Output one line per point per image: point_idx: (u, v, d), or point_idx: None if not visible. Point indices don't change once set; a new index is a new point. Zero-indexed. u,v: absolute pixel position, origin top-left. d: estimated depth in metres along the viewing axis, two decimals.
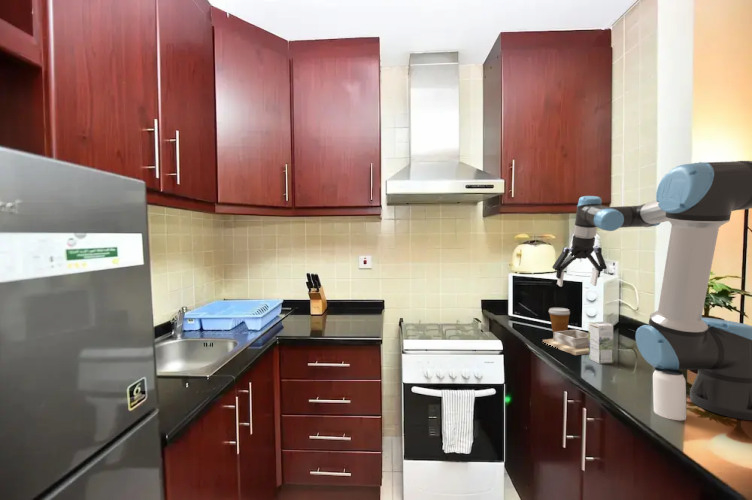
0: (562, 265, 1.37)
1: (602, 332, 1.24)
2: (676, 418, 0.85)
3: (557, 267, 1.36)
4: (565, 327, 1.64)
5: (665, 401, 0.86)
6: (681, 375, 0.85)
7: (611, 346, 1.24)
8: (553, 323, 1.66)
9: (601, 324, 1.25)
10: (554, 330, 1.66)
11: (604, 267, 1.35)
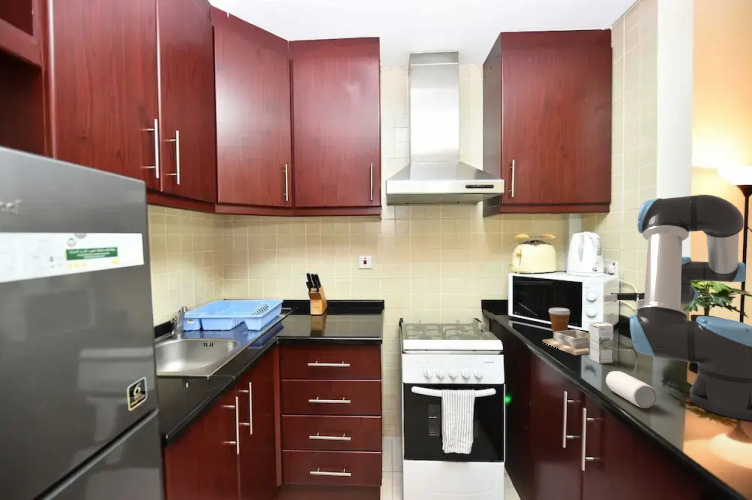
0: None
1: (602, 332, 1.24)
2: (631, 398, 0.92)
3: (614, 293, 1.40)
4: (565, 327, 1.64)
5: (625, 398, 0.96)
6: (607, 376, 1.02)
7: (611, 346, 1.24)
8: (553, 323, 1.66)
9: (601, 324, 1.25)
10: (554, 330, 1.66)
11: None
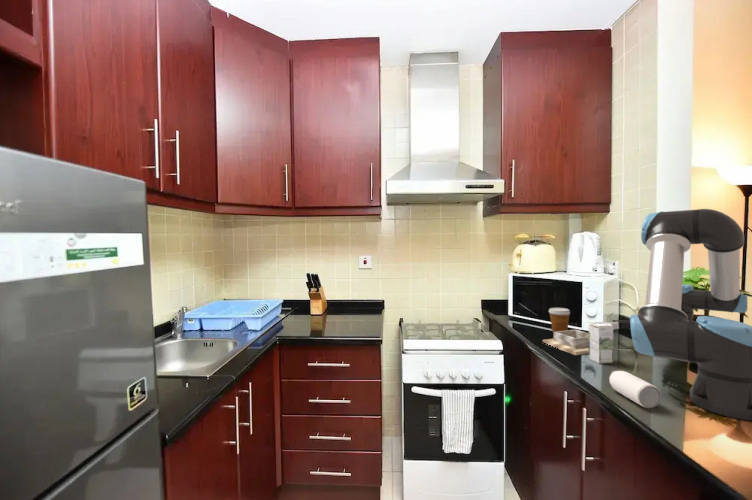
0: None
1: (602, 332, 1.24)
2: (635, 394, 0.92)
3: (616, 320, 1.41)
4: (565, 327, 1.64)
5: (626, 395, 0.96)
6: (612, 373, 1.02)
7: (611, 346, 1.24)
8: (553, 323, 1.66)
9: (601, 324, 1.25)
10: (554, 330, 1.66)
11: None
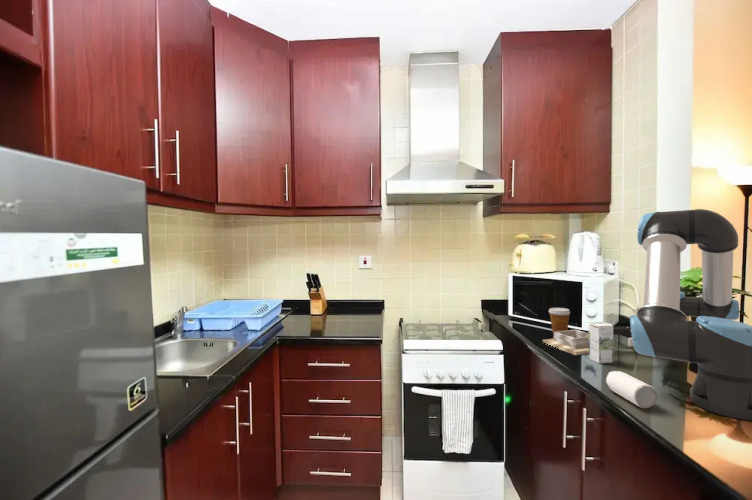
0: None
1: (602, 332, 1.24)
2: (631, 397, 0.92)
3: None
4: (565, 327, 1.64)
5: (625, 398, 0.96)
6: (607, 375, 1.02)
7: (611, 346, 1.24)
8: (553, 323, 1.66)
9: (601, 324, 1.25)
10: (554, 330, 1.66)
11: None
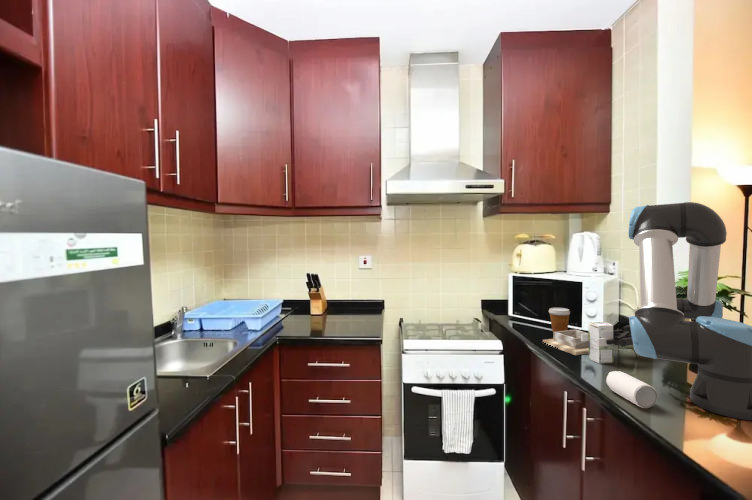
0: None
1: (602, 332, 1.24)
2: (631, 397, 0.92)
3: None
4: (565, 327, 1.64)
5: (625, 398, 0.96)
6: (607, 375, 1.02)
7: (611, 346, 1.24)
8: (553, 323, 1.66)
9: (601, 324, 1.25)
10: (554, 330, 1.66)
11: (622, 339, 1.22)
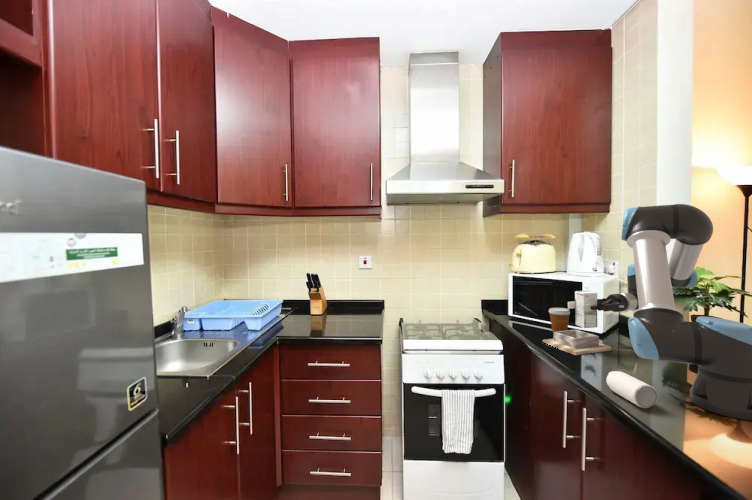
0: None
1: (587, 299, 1.36)
2: (631, 397, 0.92)
3: None
4: (565, 327, 1.64)
5: (625, 398, 0.96)
6: (607, 375, 1.02)
7: (595, 312, 1.36)
8: (553, 323, 1.66)
9: (586, 292, 1.37)
10: (554, 330, 1.66)
11: (604, 304, 1.33)
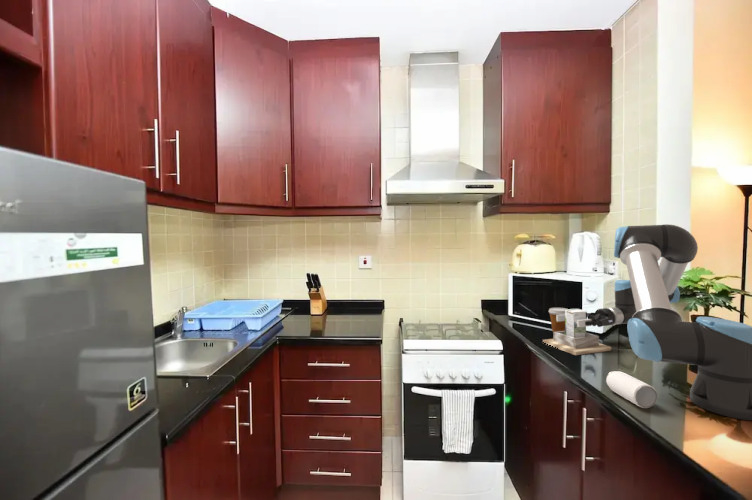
0: None
1: (576, 317, 1.42)
2: (631, 397, 0.92)
3: None
4: None
5: (625, 398, 0.96)
6: (607, 375, 1.02)
7: (584, 329, 1.43)
8: (553, 323, 1.66)
9: (575, 310, 1.44)
10: (554, 330, 1.66)
11: None
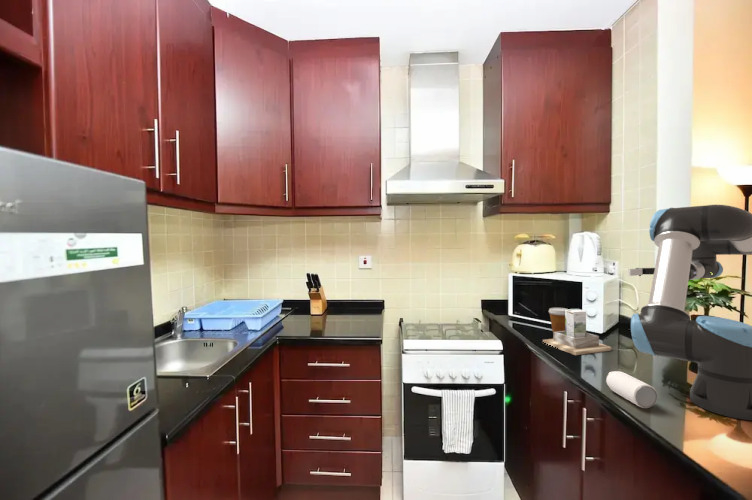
0: None
1: (577, 317, 1.42)
2: (631, 397, 0.92)
3: (639, 268, 1.43)
4: None
5: (625, 398, 0.96)
6: (607, 375, 1.02)
7: (584, 329, 1.43)
8: (553, 323, 1.66)
9: (576, 310, 1.44)
10: (554, 330, 1.66)
11: None
